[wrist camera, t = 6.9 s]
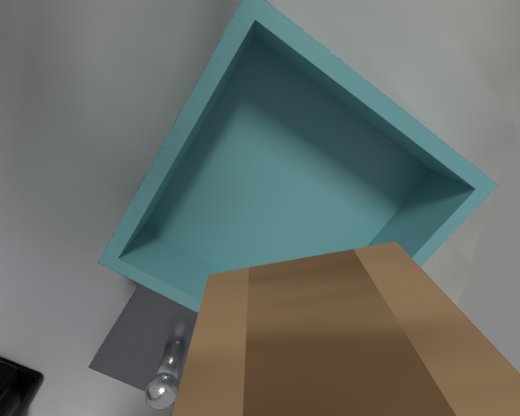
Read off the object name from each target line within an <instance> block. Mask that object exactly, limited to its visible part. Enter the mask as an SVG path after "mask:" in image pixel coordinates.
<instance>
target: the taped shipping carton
mask: <svg viewBox="0 0 520 416" xmlns="http://www.w3.org/2000/svg"><path fill="white" fill-rule="evenodd" d="M171 416H520V373H519V372H518V371H517V370H516V369H515V368H514V367H513V366H512V365H511V364H510V363H509V362H508V360H506V358H505V357H504V356H503V355H502V354H501V353H500V352H499V351H498V350H497V349H496V348H495V347H494V346H493V345H492V343H491V342H490V341H489V340H488V339H487V338H486V337H485V336H484V335H483V334H482V333H481V332H480V331H479V330H478V329H477V327H476V326H475V325H474V324H473V323H472V322H471V321H470V320H469V319H468V318H467V317H466V316H465V315H464V314H463V312H462V311H461V310H460V309H459V308H458V307H457V306H456V305H455V304H454V303H453V302H452V301H451V300H450V299H449V297H448V296H447V295H446V294H445V293H444V292H443V291H442V290H441V289H440V288H439V287H438V286H437V285H436V284H435V283H434V281H433V280H432V279H431V278H430V277H429V276H428V275H427V274H426V273H425V272H424V271H423V270H422V269H421V268H420V267H419V265H418V264H417V263H416V262H415V261H414V260H413V259H412V258H411V257H410V256H409V255H408V254H407V253H406V252H405V251H404V249H403V248H402V247H401V246H400V245H399V244H398V243H397V242H390V243H385V244H379V245H373V246H368V247H362V248H356V249H351V250H345V251H339V252H333V253H328V254H322V255H316V256H311V257H305V258H299V259H294V260H288V261H282V262H276V263H271V264H265V265H259V266H254V267H248V268H242V269H236V270H231V271H225V272H219V273H214V274H208V278H207V282H206V286H205V289H204V293H203V297H202V301H201V305H200V308H199V312H198V316H197V320H196V324H195V327H194V331H193V335H192V339H191V343H190V347H189V350H188V354H187V358H186V362H185V366H184V369H183V373H182V377H181V381H180V385H179V388H178V392H177V396H176V400H175V404H174V408H173V411H172V415H171Z"/></svg>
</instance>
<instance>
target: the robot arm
mask: <svg viewBox="0 0 520 416" xmlns="http://www.w3.org/2000/svg"><path fill="white" fill-rule="evenodd" d="M41 379H42V376H41V374H40V373H38V372H35V371H33V370H30V369H28V368H25V367H23V366H20V365H18V364H15V363H13V362H10V361H8V360H5V359H3V358H0V416H21V414H22V413H23V411H24V409H25V407H26V406H27V404H28V402H29V400H30V398H31V397H32V395H33V393H34V391H35V389H36V388H37V386H38V384H39V382H40V381H41Z"/></svg>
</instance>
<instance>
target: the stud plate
mask: <svg viewBox="0 0 520 416" xmlns="http://www.w3.org/2000/svg"><path fill="white" fill-rule="evenodd" d="M197 316H198V313H197V312H195V311H193V310H191V309H189V308H187V307H185V306H183V305H181V304H179V303H177V302H175V301H173V300H171V299H169V298H167V297H165V296H163V295H161V294H159V293H157V292H155V291H153V290H151V289H149V288H147V287H145V286H143V285H141V284H139V285H138V287H137V289H136V290H135V292H134V294H133V295H132V297H131V298H130V300H129V302H128V303H127V305H126V306H125V308H124V310H123V311H122V313H121V315H120V316H119V318H118V319H117V321H116V323H115V324H114V326H113V328H112V329H111V331H110V332H109V334H108V336H107V337H106V339H105V340H104V342H103V344H102V345H101V347H100V349H99V350H98V352H97V353H96V355H95V357H94V358H93V360H92V362H91V363H90V365H89V368H91V369H93V370H96V371H98V372H100V373H103V374H105V375H108V376H110V377H112V378H115V379H117V380H120V381H122V382H124V383H127V384H129V385H131V386H134V387H136V388H139V389H141V390H143V391H145V397H146V401H147V403H148V404H149V406H151V407H152V408H154V409H156V410H163V409H166V408H168V407H170V406H171V405H172V404H173V403H174V404H175V400H176V396H177V392H178V388H179V385H180V381H181V377H182V373H183V369H184V366H185V362H186V358H187V354H188V350H189V347H190V343H191V339H192V335H193V331H194V327H195V324H196V320H197Z"/></svg>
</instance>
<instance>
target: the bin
mask: <svg viewBox="0 0 520 416" xmlns="http://www.w3.org/2000/svg"><path fill="white" fill-rule="evenodd" d="M497 186H498V184H497V183H496V182H494V181H493V180H492V179H491V178H489V177H488V176H487V175H486V174H484V173H483V172H482V171H480V170H479V169H478V168H477V167H475V166H474V165H473V164H472V163H470V162H469V161H468V160H467V159H465V158H464V157H463V156H462V155H460V154H459V153H458V152H456V151H455V150H454V149H453V148H451V147H450V146H449V145H448V144H446V143H445V142H444V141H443V140H441V139H440V138H439V137H438V136H436V135H435V134H434V133H432V132H431V131H430V130H429V129H427V128H426V127H425V126H424V125H422V124H421V123H420V122H419V121H417V120H416V119H415V118H414V117H412V116H411V115H410V114H408V113H407V112H406V111H405V110H403V109H402V108H401V107H400V106H398V105H397V104H396V103H395V102H393V101H392V100H391V99H390V98H388V97H387V96H386V95H384V94H383V93H382V92H381V91H379V90H378V89H377V88H376V87H374V86H373V85H372V84H371V83H369V82H368V81H367V80H366V79H364V78H363V77H362V76H360V75H359V74H358V73H357V72H355V71H354V70H353V69H352V68H350V67H349V66H348V65H347V64H345V63H344V62H343V61H342V60H340V59H339V58H338V57H336V56H335V55H334V54H333V53H331V52H330V51H329V50H328V49H326V48H325V47H324V46H323V45H321V44H320V43H319V42H318V41H316V40H315V39H314V38H312V37H311V36H310V35H309V34H307V33H306V32H305V31H304V30H302V29H301V28H300V27H299V26H297V25H296V24H295V23H294V22H292V21H291V20H290V19H288V18H287V17H286V16H285V15H283V14H282V13H281V12H280V11H278V10H277V9H276V8H275V7H273V6H272V5H271V4H270V3H268V2H267V1H266V0H242V2H241V3H240V5H239V7H238V9H237V11H236V12H235V14H234V16H233V18H232V20H231V22H230V23H229V25H228V27H227V29H226V31H225V32H224V34H223V36H222V38H221V40H220V42H219V43H218V45H217V47H216V49H215V51H214V52H213V54H212V56H211V58H210V60H209V62H208V63H207V65H206V67H205V69H204V71H203V72H202V74H201V76H200V78H199V80H198V82H197V83H196V85H195V87H194V89H193V91H192V92H191V94H190V96H189V98H188V100H187V102H186V103H185V105H184V107H183V109H182V111H181V112H180V114H179V116H178V118H177V120H176V122H175V123H174V125H173V127H172V129H171V131H170V133H169V134H168V136H167V138H166V140H165V142H164V143H163V145H162V147H161V149H160V151H159V153H158V154H157V156H156V158H155V160H154V162H153V163H152V165H151V167H150V169H149V171H148V173H147V174H146V176H145V178H144V180H143V182H142V183H141V185H140V187H139V189H138V191H137V193H136V194H135V196H134V198H133V200H132V202H131V203H130V205H129V207H128V209H127V211H126V213H125V214H124V216H123V218H122V220H121V222H120V223H119V225H118V227H117V229H116V231H115V233H114V234H113V236H112V238H111V240H110V242H109V243H108V245H107V247H106V249H105V251H104V253H103V254H102V256H101V258H100V260H99V262H98V263H99V264H101V265H103V266H105V267H107V268H109V269H111V270H113V271H115V272H117V273H119V274H121V275H123V276H125V277H127V278H129V279H131V280H133V281H135V282H137V283H139V284H141V285H143V286H145V287H147V288H149V289H151V290H153V291H155V292H157V293H159V294H161V295H163V296H165V297H167V298H169V299H171V300H173V301H175V302H177V303H179V304H181V305H183V306H185V307H187V308H189V309H191V310H193V311H195V312H197V313H198V312H199V308H200V305H201V301H202V297H203V293H204V289H205V286H206V282H207V278H208V274H214V273H219V272H225V271H231V270H236V269H242V268H248V267H254V266H259V265H265V264H271V263H276V262H282V261H288V260H294V259H299V258H305V257H311V256H316V255H322V254H328V253H333V252H339V251H345V250H351V249H356V248H362V247H368V246H373V245H379V244H385V243H390V242H397V243H398V244H399V245H400V246H401V247H402V248H403V249H404V251H405V252H406V253H407V254H408V255H409V256H410V257H411V258H412V259H413V260H414V261H415V262H416V263H417V264H418V265H419V267H421V265H422V264H423V263H424V262H425V261H426V260H427V259H428V258H429V257H430V256H431V255H432V254H433V253H434V252H435V251H436V250H437V249H438V248H439V247H440V246H441V245H442V244H443V242H444V241H445V240H446V239H447V238H448V237H449V236H450V235H451V234H452V233H453V232H454V231H455V230H456V229H457V228H458V227H459V226H460V225H461V224H462V223H463V222H464V221H465V219H466V218H467V217H468V216H469V215H470V214H471V213H472V212H473V211H474V210H475V209H476V208H477V207H478V206H479V205H480V204H481V203H482V202H483V201H484V200H485V199H486V198H487V196H488V195H489V194H490V193H491V192H492V191H493V190H494V189H495V188H496V187H497Z"/></svg>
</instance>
